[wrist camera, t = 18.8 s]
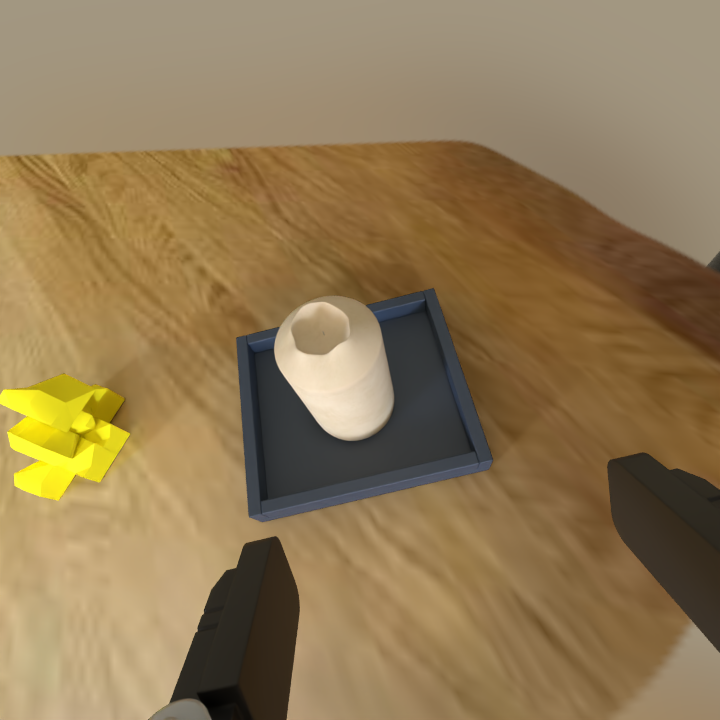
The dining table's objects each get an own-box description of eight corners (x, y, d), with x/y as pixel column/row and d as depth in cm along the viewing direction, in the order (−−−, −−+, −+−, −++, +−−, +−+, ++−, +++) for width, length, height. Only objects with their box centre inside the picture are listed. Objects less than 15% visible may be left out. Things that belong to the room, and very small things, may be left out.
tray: (433, 305, 33) (433, 287, 31) (489, 469, 27) (493, 460, 25) (247, 352, 34) (235, 337, 32) (261, 522, 28) (248, 517, 26)
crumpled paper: (21, 481, 32) (-93, 452, 25) (89, 384, 34) (4, 335, 28) (80, 512, 30) (-25, 491, 23) (146, 407, 33) (71, 361, 26)
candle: (411, 391, 29) (401, 308, 20) (362, 458, 28) (329, 401, 19) (346, 352, 31) (312, 262, 23) (298, 413, 30) (241, 342, 21)
